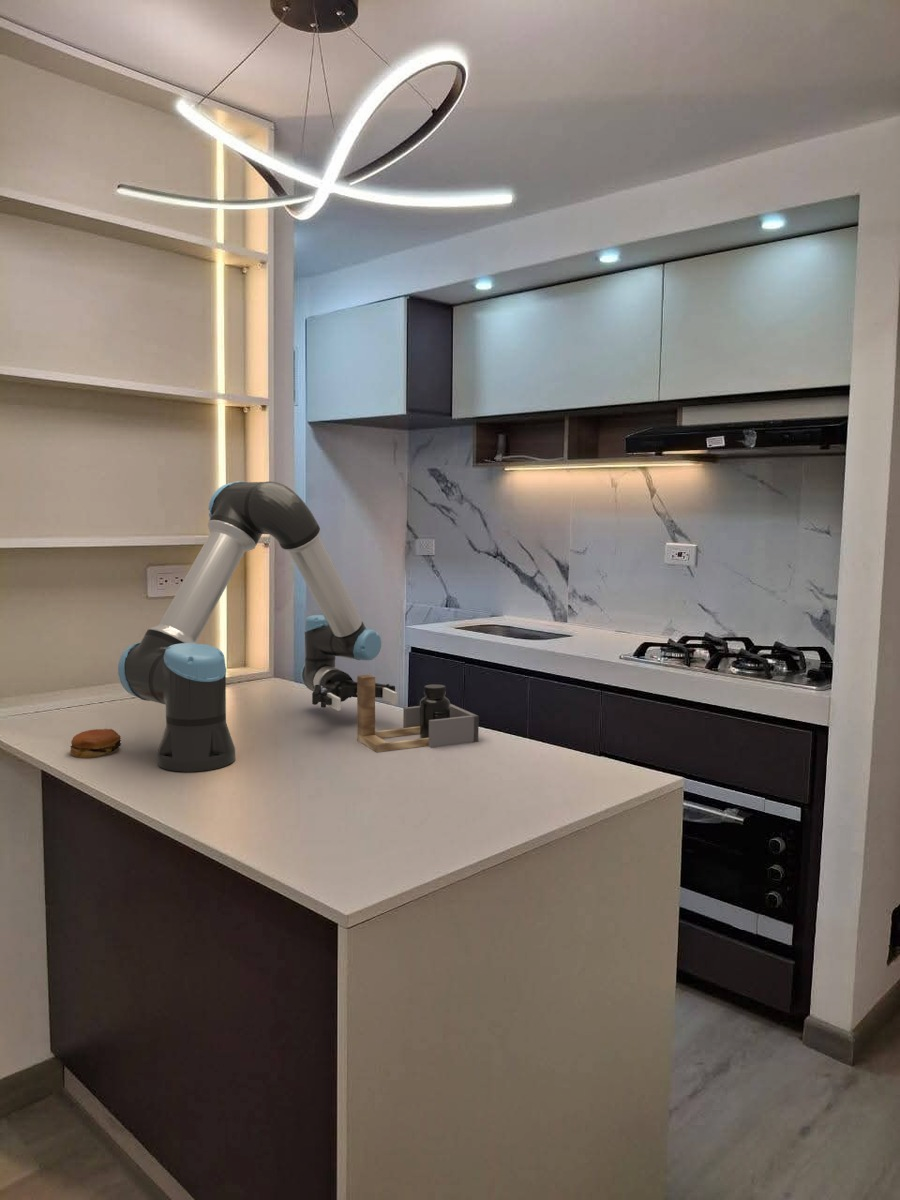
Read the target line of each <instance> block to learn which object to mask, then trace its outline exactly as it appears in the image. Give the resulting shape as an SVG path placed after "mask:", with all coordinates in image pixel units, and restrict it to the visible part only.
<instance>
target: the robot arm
mask: <svg viewBox="0 0 900 1200" xmlns="http://www.w3.org/2000/svg"><path fill="white" fill-rule="evenodd" d="M208 510H209V513H208V516H209V521H208V522H207V527H208V529H209V535H208V537H207V538H206V540H205V542H204V544H203V546H202V547H201V549H200V550H199V553H198V554H197V556H196V558H195V560H194V561H193V563H192V565H191V567H190V569H189V571H188V572H187V574H186V576H185V578H184V580H183V581H182V583H181V585H180V587H179V588H178V590H177V592H176V593H175V595H174V597H173V598H172V600H171V603H170V604H169V606H168V607H167V610H166V611H165V613H164V615H163V617H162V618H161V621H160V622H159V624H158V625H156V626H152V627H149V628H148V629H147V630H146V632H145V634H144V635H143V638H142V639H141V641H140V642H136V643H133V644H131V645H129V646H128V647H127V648H126V649H124V651H123V652H122V654H121V655H120V658H119V661H118V665H117V666H118V667H117V676H118V678H119V682H120V685H121V686H122V687H123V689H124V690H125V691H126V692H127V693H128V694H129V695H132V697H133V696H134V697H136V698H138V699H140V700H142V701H147V702H154V703H158V704H161V705H165V721H166V722H165V728H164V732H163V735H162V738H161V742H160V744H159V748H158V752H157V765H158V767H160V768H161V769H164V770H168V771H174V772H186V773H187V772H202V771H203V772H206V771H211V770H215V769H220V768H223V767H227V766H229V765H231V764H233V763H234V762H235V761H236V747H235V744H234V741H233V738H232V735H231V733H230V729H229V727H228V725H227V712H226V711H227V707H226V705H227V694H226V693H227V689H226V688H227V687H226V683H227V682H226V680H227V676H226V674H227V667H226V661H225V655H224V653H223V652H222V651H221V650H220V648H217V647H215V646H212V645H210V644H205V643H204V644H203V643H201V644H200V643H197V642H198V639H199V638H200V636H201V635H202V633H203V631H204V629H205V628H206V625H207V624H208V621H209V619H210V618H211V615H212V614H213V611H215V609H216V606H217V605H218V603H219V601H220V599H221V597H222V595H223V593H224V592H225V589H226V587H228V584H229V583H230V580H231V578H232V576H233V574H234V572H235V571H236V569H237V568H238V565H239V563H240V562H241V560H242V558H243V556H244V554H245V552H248V551H253V550H255V549H256V546H257V544H258V543H259V541H260V538H261V537H262V536H263V535H270V536H272V537H273V538H274V539H276V541H277V543H278V544H279V546H280V548H281V549H282V550H284V551H287V552H289V554H290V557H291V558H292V560H293V561H294V563H295V566H296V567H297V569H298V571H299V573H300V575H301V576H302V579H303V581H304V582H305V584H306V585H307V587H308V590H309V591H310V593H311V595H312V597H313V599H314V600H315V603H316V604H317V607H318V609H320V612H321V613H322V614H315V615H313V614H312V615H309V616H307V617H306V618H305V626H304V642H305V643H304V648H305V649H304V651H305V653H304V656H305V657H304V658H305V659H304V664H303V665H302V666H301V667H302V668H301V669H300V673H299V674H300V680H301V682H302V684H303V685H304V686H305V687H306V688H307V689H308V690H310V691H312V693H311V695H312V696H311V698H312V699H311V700H312V701H311V702H312V703H311V704H312V705H314V706H316V705H318V704H319V703H320V708H323V709H324V708H327V707H330V708H332V709H334V710H335V711H337V712H338V711H341V710H342V709H341V708H342V706H341V703H342V702H345V701H346V700H349V699H351V698H357V681H354V680H353V677H351V675H350V674H349V673H347V672H345V671H343V670H341V669H339V668H337V667H336V657H341V658H346V659H351V660H352V659H353V660H356V661H372V660H374V659H375V658H376V657H377V656H378V655H379V653H380V651H381V649H382V639H381V636H380V634H379V633H378V632H377V631H376V630H373V629H371V628H366V626H365V623H364V622H363V619H362V618H361V616H360V614H359V612H358V609H357V607H356V605H355V604H354V601H353V600H352V598H351V596H350V594H349V593H348V590H347V588H346V587H345V584H344V582H343V581H342V579H341V576H340V574H339V572H338V570H337V569H336V567H335V565H334V563H333V561H332V559H331V557H330V555H329V553H328V551H327V549H326V547H325V545H324V543H323V541H322V539H321V537H320V534H321V528H320V526H319V523H318V522H317V519H316V518H315V516H314V514H313V513H312V511H311V510H310V509H309V507H308V505H307V504H306V503H305V502H304V501H303V499H302V498H301V497H300V496H299V495H298V494H297V493H296V492H295V491H294V490H292V488H290V487H289V486H287V485H285V484H283V483H280V482H277V481H270V480H269V481H234V482H229V483H225V484H223V485H222V486H220V487H218V488H217V490H215V491H214V492H213V494H212V496H211V497H210V500H209V502H208ZM375 698H379V699H380V698H381V699H382V700H383V701H385V702H388V703H389V704H391V705H393V706H397V705H398V692H397V691H396V686H395V685H390V683H387V684H385V683H384V684H383V683H378V682H377V683H376V682H375Z"/></svg>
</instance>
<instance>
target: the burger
mask: <svg viewBox="0 0 900 1200" xmlns="http://www.w3.org/2000/svg"><path fill="white" fill-rule="evenodd" d="M121 738H122V736H121V735H120V734H119V733H118V732H116V730H114V729H112V728H99V729H98V728H97V729H95V728H94V729H89V730H85V731H81V732H79V733H77V734H76V735H73V737H72V739H71V742H70V743H71V745H70V746H69V747H70V755H72V756H73V757H76V758H80V759H95V758H99V757H103V756H107V755H111V754H114V753H115V752H117V751H118V750H120V747H121V746H122V742H121V741H122V740H121Z"/></svg>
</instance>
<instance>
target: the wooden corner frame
mask: <svg viewBox="0 0 900 1200" xmlns="http://www.w3.org/2000/svg"><path fill="white" fill-rule="evenodd" d="M356 678H357V679H356V680H357V681H356V682H357V697H356V698H357V699H356V700H357V701H356V703H357V704H356V707H357V710H356V711H357V712H356V714H357V716H356V718H357V719H356V721H357V722H356V724H357V725H356V728H357V729H356V733H357V734H356V738H357V741H358V742H360V743H362V744H363V745H364V746H365V747H366V746H367V747H368V748H369V749H371V750H372V751H374V752H375V753H381V752H390V751H396V750H398V751H399V750H406V749H412V748H419V747H420V748H421V747H429V738H413V739H406V740H398V741H391V742H389V741H388V742H387V740H384V739H385V738H386V739H387V738H395V737H403V736H404V737H406V736H411V735H420V726H417V727H408V728H403V727H401V728H400V727H399V728H393V729H384V730H376V697H375V683H376V676H373V675H372V674H363V675H362V674H361V675H357V676H356Z"/></svg>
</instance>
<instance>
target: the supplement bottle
mask: <svg viewBox="0 0 900 1200" xmlns="http://www.w3.org/2000/svg"><path fill="white" fill-rule="evenodd" d="M446 694H447V691H446V685H444V684H427V685H424V687H423V695H424V697H422V698H421V699H420V701H419V706H420V734H419V737H420V738H419V739H421V738H429V720H434V719H443V718H450V704H451V701H450V700H449V698H448V697H446Z"/></svg>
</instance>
